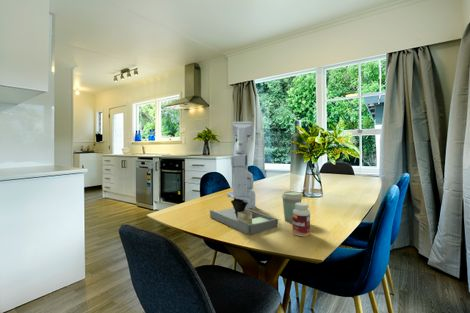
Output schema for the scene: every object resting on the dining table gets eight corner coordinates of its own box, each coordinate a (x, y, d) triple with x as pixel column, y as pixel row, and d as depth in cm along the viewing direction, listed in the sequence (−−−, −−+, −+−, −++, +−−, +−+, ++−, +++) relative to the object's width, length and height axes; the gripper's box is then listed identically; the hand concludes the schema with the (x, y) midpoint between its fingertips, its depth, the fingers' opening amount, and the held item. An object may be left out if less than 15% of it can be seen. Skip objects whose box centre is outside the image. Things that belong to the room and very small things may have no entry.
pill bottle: (289, 234, 89) (289, 204, 89) (296, 229, 94) (297, 201, 93) (305, 238, 85) (306, 206, 85) (312, 233, 90) (313, 203, 89)
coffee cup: (302, 218, 107) (303, 191, 107) (301, 225, 99) (301, 195, 99) (282, 217, 110) (283, 190, 109) (280, 222, 102) (280, 194, 101)
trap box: (236, 211, 118) (236, 205, 118) (277, 227, 97) (277, 219, 96) (210, 217, 110) (210, 210, 109) (249, 235, 88) (249, 226, 88)
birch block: (245, 220, 98) (245, 210, 98) (252, 222, 95) (252, 212, 95) (237, 222, 96) (237, 212, 96) (243, 225, 93) (243, 214, 93)
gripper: (221, 182, 101) (221, 215, 102) (243, 187, 89) (243, 224, 90) (234, 181, 105) (234, 212, 106) (257, 185, 94) (257, 221, 94)
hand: (239, 217), depth 98 cm, fingers closed
